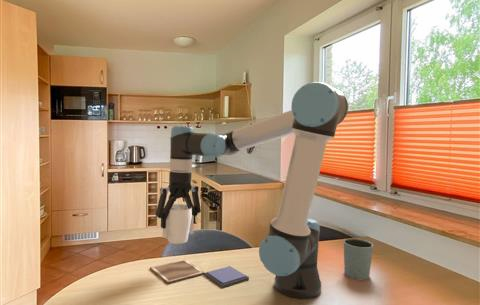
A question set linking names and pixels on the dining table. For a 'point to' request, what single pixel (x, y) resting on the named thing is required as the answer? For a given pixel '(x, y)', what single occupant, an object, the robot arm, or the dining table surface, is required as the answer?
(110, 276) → the dining table surface
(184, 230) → the cup
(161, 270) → the marked board
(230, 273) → the ink pad
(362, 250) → the green tumbler
